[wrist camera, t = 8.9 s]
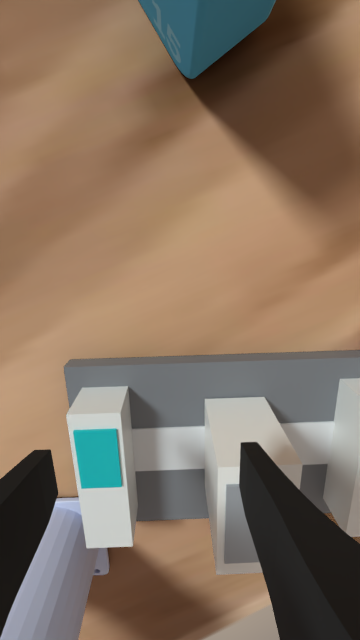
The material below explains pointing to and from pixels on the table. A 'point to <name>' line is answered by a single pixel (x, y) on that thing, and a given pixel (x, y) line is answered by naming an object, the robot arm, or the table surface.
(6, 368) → the table surface
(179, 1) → the data package
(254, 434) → the block
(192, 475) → the rail board
